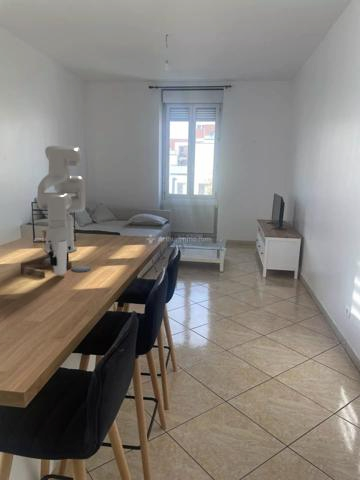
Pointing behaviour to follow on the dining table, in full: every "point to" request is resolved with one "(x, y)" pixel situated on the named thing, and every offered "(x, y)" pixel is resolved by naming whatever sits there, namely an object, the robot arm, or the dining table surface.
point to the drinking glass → (61, 258)
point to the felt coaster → (81, 268)
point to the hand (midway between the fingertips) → (59, 263)
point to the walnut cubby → (38, 266)
